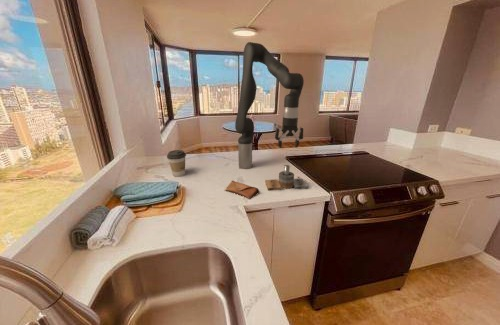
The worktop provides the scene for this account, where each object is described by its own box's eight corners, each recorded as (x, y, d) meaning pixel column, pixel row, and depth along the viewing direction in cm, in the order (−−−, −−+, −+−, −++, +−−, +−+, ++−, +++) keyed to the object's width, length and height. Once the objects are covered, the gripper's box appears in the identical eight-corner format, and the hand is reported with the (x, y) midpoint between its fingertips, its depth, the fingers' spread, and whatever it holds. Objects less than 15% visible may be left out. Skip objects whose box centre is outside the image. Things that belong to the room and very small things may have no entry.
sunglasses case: (222, 190, 114) (226, 178, 115) (229, 191, 120) (233, 180, 121) (250, 199, 105) (254, 186, 106) (256, 200, 111) (260, 188, 112)
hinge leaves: (267, 190, 114) (268, 178, 112) (265, 182, 124) (265, 171, 121) (307, 188, 116) (309, 177, 114) (302, 180, 125) (303, 169, 123)
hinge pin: (283, 186, 118) (285, 166, 114) (282, 184, 121) (283, 164, 117) (288, 186, 119) (290, 166, 114) (287, 184, 121) (288, 164, 117)
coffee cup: (183, 179, 128) (179, 155, 123) (166, 177, 130) (162, 154, 125) (191, 171, 138) (189, 149, 133) (175, 170, 141) (172, 148, 135)
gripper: (301, 114, 110) (299, 144, 116) (274, 115, 109) (273, 145, 115) (306, 117, 103) (303, 149, 109) (278, 117, 102) (276, 149, 108)
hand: (288, 147), depth 112 cm, fingers open, 8 cm apart
